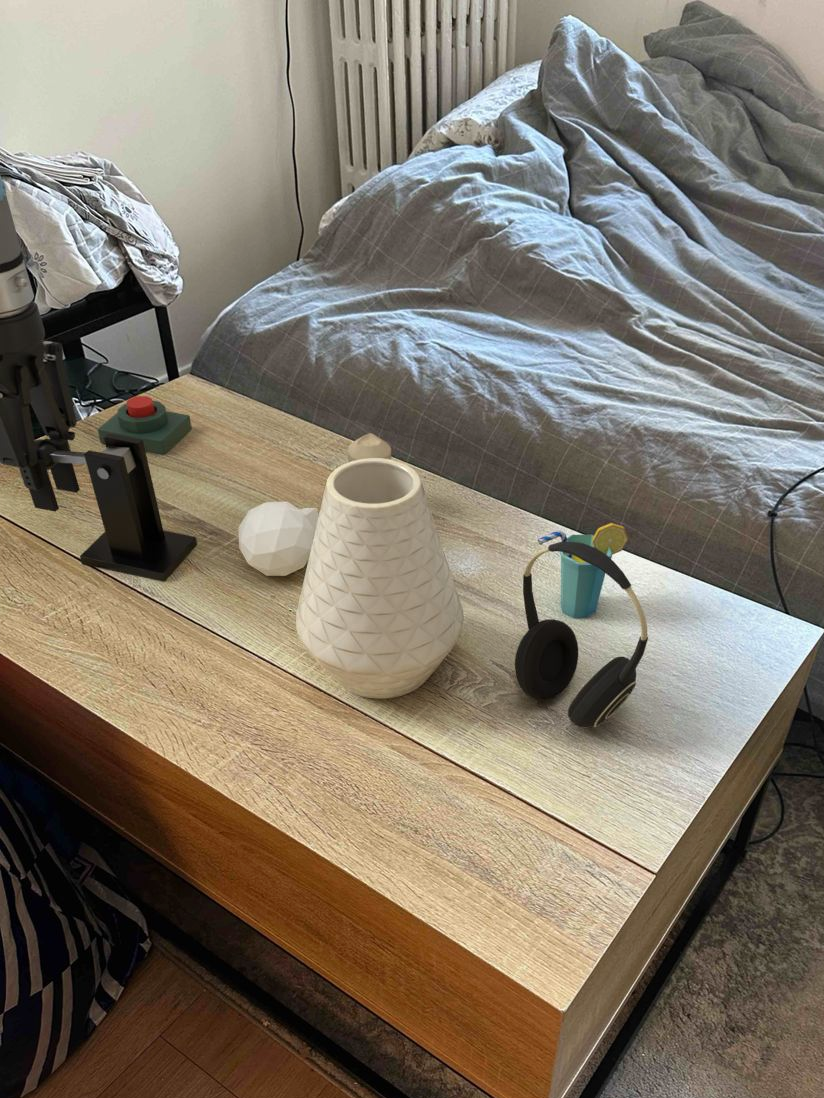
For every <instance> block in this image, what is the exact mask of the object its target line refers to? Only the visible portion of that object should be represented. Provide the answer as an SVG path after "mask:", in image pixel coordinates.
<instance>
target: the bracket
mask: <svg viewBox="0 0 824 1098" xmlns="http://www.w3.org/2000/svg"><path fill="white" fill-rule="evenodd" d="M104 440H105V444H104V445H105V449H106V448H107V447H108V446H113V447H127V448H130V451H131V453H132V456H133V459H134V462H135V465H136V467H135V468H134V469H132V470H131V471H130V472H129V473H128V472H127V468H126V463H125V459H124V457H122V456H117V455H112V454H106V453H101V452H102V451H96V450H90V449H89V450H87V451H85V452H86V453H85V454H84V456H85V460H86V464H87V465H86V467H87V471H88V474H89V478H90V482H91V484H92V488H93V489H92V490H93V492H94V496H95V499H96V503H97V507H98V511H99V515H100V518H101V521H102V526H103V529H104V531H103V533H102V534H101V535H100V536H98V538H97V539H95V541H93V543H91V544H90V545H89V547H88V548H87V549H85V550H84V551H83V552H82V553H81V554H80V555H79V559H80V562H81V565H83V566H89V567H93V568H98V569H103V570H108V571H113V572H118V573H123V574H127V575H132V576H137V577H142V578H146V579H152V580H155V581H161V582H166V581H167V580H168V579H169V578H170V576H171V575H172V574H174V572H175V571H176V570H177V568H178V567H180V565H181V564H182V563H183V562H184V560H185V559H187V557H188V556H189V555H190V554H191V552H192V551H193V550H194V549H195V548H196V547H197V545H198V542H197V537H196V536H194V535H190V534H189V535H188V534H185V533H178V532H173V531H168V530H164V527H163V522H162V518H161V514H160V510H159V509H160V508H159V505H158V501H157V496H156V492H155V487H154V483H153V478H152V474H151V469H150V465H149V460H148V455H147V452H146V451H145V447H144V443H143V440H142V439H137V438H131V437H126V436H120V435H115V434H109V433H108V434H107V435H106V436H105V437H104Z"/></svg>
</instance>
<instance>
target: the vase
mask: <svg viewBox="0 0 824 1098" xmlns="http://www.w3.org/2000/svg"><path fill="white" fill-rule="evenodd" d="M318 515H319V517H318V522H317V526H316V530H314V539H313V543H312V548H311V552H310V556H309V560H308V561H307V564H306V566H307V567H306V570H305V574H304V579H303V583H302V586H301V591H300V596H299V599H298V605H297V608H296V613H295V630H296V633H297V637H298V640H300V643H301V645H302V646H303V648H304V649H305V650H306V651H307V653H308V654H309V655H310V656H311V657H312V658H313V659H314V660H315V661H316V662H317V663H318V664H319V665H320V666H321V667H322V668H323V669H324V670H325V672H327V674H329V675H330V677H332V678H333V679H334V680H335V681H336V682H337V683H338V684H339V685H340V686H341V687H342V688H343V689H345V690H346V691H348V692H350V693H352V694H354V695H356V696H360V697H363V698H369V699H377V700H379V699H380V700H381V699H384V700H385V699H393V698H398V697H402V696H405V695H408V694H409V693H412V692H414V691H416V690H417V689H419V688H420V687H421V686H423V685H424V683H426V682H427V680H428V679H429V678H430V677H431V675H432V674H433V673H434V672H435V670H436V669H437V668H438V667H439V665H441V663H442V662H443V661H444V659H445V658H446V657H447V656H448V654H449V653H450V652H451V651H452V650H453V648H454V647H455V646H456V644H457V642H458V641H459V639H460V637H461V636H462V635H461V634H462V631H463V628H464V623H465V622H464V621H465V616H464V608H463V604H462V601H461V599H460V598H461V597H460V595H459V592H458V590H457V586H456V583H455V580H454V577H453V574H452V572H451V568H450V565H449V561H448V559H447V556H446V553H445V550H444V546H443V544H442V541H441V537H440V534H439V532H438V528H437V524H436V522H435V520H434V516H433V513H432V509H431V507H430V504H429V501H428V497H427V494H426V492H425V489H424V485H423V482H422V479H421V477H420V475H419V473H418V472H417V471H416V470H415V469H414V468H412V466H410V465H407V464H406V463H404V462H401V461H398V460H394V459H391V460H390V459H383V458H367V459H359V460H355V461H351V462H348V461H347V462H345V463H344V464H343V463H342V464H341V465H339V466H338V467H336V468H335V469H334V470H333V471H332V472H331V473H330V474H329V475H328V477H327V479H326V483H325V488H324V491H323V496H322V501H321V505H320V510H319V512H318Z"/></svg>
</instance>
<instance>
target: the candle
mask: <svg viewBox="0 0 824 1098" xmlns="http://www.w3.org/2000/svg"><path fill="white" fill-rule="evenodd" d="M346 449H347V450H346V451H347V452H346V454H347V463H348V462H351V461H355V460H359V459H367V458H383V459H390V460H392V448H391V445H390V444H388V443H387V442H386V441H385V440H383V439H381V438H380V437H378V436H377V435H375V434H374V433H370V432H369V433H366V434H364V435H362V436H361V437H359V438H357V439H355V440H353V441H352V442H351V443H350V444H349V445H348V446H347V448H346Z"/></svg>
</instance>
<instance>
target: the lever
mask: <svg viewBox="0 0 824 1098" xmlns="http://www.w3.org/2000/svg"><path fill="white" fill-rule="evenodd" d="M44 439H45V438H44ZM44 439H43V438H38V439H34V440H35V446H36V452H37V458H38V459H41V460H44V462H45V465H46V468H47V471H51V469H53V468H54V467H55V466H56V465H57V463H58V462H59V463H72V464H73V465H85V466H87V464H86V460H85V456H84V454H85V453H86V452H87V451H75V450H74V451H73V450H71V451H61V450H57V448H56V446H55V445H54V444H53V443H51V442H50V441H47V440H44ZM100 452H101V453H106V454H112V455H117V456H122V457H124V459H125V463H126V468H127V472H128V473H129V472H130V471H131V470H132V469H134V468H135V467H136V465H135V462H134V459H133V456H132V453H131V451H130V448H127V447H113V446H108V447H107V448H106V447H105V448H104V449H103V450H102V451H100Z"/></svg>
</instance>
